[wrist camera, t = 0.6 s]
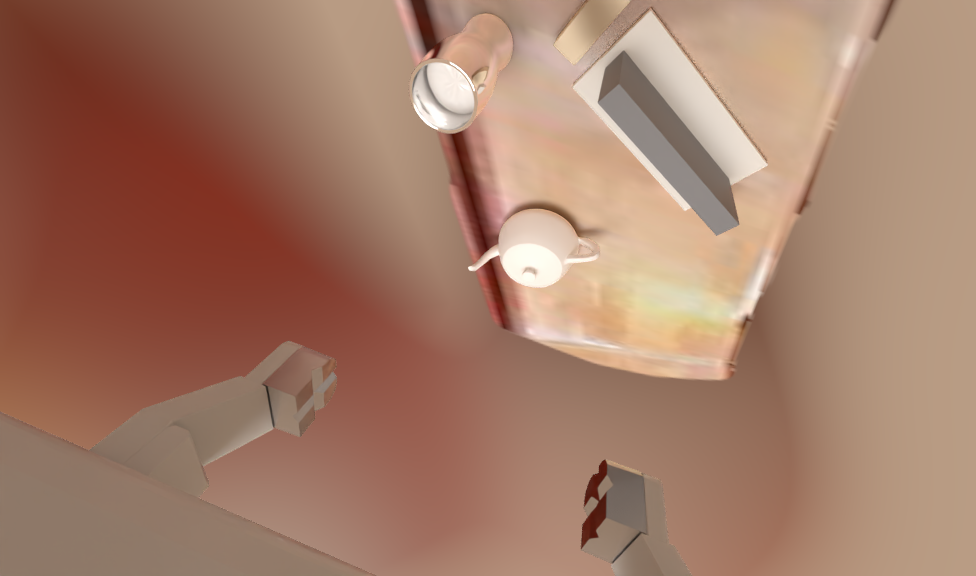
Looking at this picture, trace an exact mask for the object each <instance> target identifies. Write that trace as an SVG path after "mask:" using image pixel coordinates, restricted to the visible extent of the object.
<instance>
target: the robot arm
mask: <svg viewBox="0 0 976 576" xmlns="http://www.w3.org/2000/svg"><path fill="white" fill-rule="evenodd" d="M335 368H336V359H333V358H331V357H329V356H326V355H323V354H321V353H319V352H316V351H313V350H311V349H309V348H306V347H304V346H301V345H299V344H296V343H293V342H291V341H287V342H285V343H283V344H281V345H280V346H279V347H278V348H277V349H276V350H275V351H274V352H272V353H271V354H270V355H269V356H268V357H267V358H266V359H265V360H264V361H262V362H261V363H260V364H259V365H258V366H257V367H256V368H255V369H254V370H252V371H251V372H250V373H249V374H248V375H247V376H246V377H245V378H244V377H241V376H239V377H236V378H233V379H230V380H227V381H224V382H221V383H218V384H215V385H212V386H209V387H206V388H203V389H200V390H197V391H195V392H191V393H188V394H186V395H183V396H180V397H177V398H174V399H171V400H168V401H165V402H162V403H159V404H156V405H153V406H150V407H147V408H144V409H142V410H141V411H139V412H138V413H136V414H135V415H134V416H133V417H131V418H130V419H129V420H127V421H126V422H125V423H124V424H122V425H121V426H120V427H118V428H117V429H116V430H114V431H113V432H112V433H111V434H109V435H108V436H107V437H105V438H104V439H103V440H102V441H100V442H99V443H98V444H96V445H95V446H94V447H92V448H91V449H90V450H87V449H85V448H83V447H80V446H78V445H76V444H74V443H71V442H69V441H67V440H64V439H62V438H60V437H57V436H55V435H53V434H50V433H48V432H46V431H44V430H41V429H39V428H36V427H34V426H32V425H30V424H27V423H25V422H23V421H20V420H18V419H16V418H14V417H11V416H9V415H7V414H4V413H2V412H0V576H376V575H374V574H372V573H369V572H367V571H365V570H363V569H360V568H358V567H356V566H353V565H351V564H349V563H347V562H344V561H342V560H340V559H337V558H335V557H333V556H331V555H328V554H326V553H324V552H321V551H319V550H317V549H314V548H312V547H310V546H308V545H305V544H303V543H301V542H298V541H296V540H294V539H291V538H289V537H287V536H285V535H282V534H280V533H277V532H275V531H273V530H271V529H269V528H266V527H264V526H262V525H259V524H257V523H255V522H252V521H250V520H248V519H245V518H243V517H241V516H239V515H236V514H234V513H232V512H229V511H227V510H225V509H223V508H220V507H218V506H216V505H213V504H211V503H209V502H207V501H204V500H202V499H200V498H199V497H200V495H201V494H202V493H203V492H204V491H205V490H206V489H207V488H208V485H209V480H208V478H207V475H206V473H205V470H204V468H203V466H205V465H207V464H209V463H211V462H212V461H214V460H216V459H218V458H220V457H222V456H224V455H226V454H228V453H229V452H231V451H233V450H235V449H237V448H239V447H241V446H242V445H244V444H246V443H248V442H250V441H252V440H254V439H256V438H258V437H259V436H261V435H263V434H265V433H267V432H269V431H271V430H273V427H274V428H277V429H280V430H282V431H285V432H288V433H290V434H293V435H296V436H299V437H301V436H302V434H303V433H304V432H305V431H306V429H307V428H308V427H309V426H310V424H311V423H312V422H313V421H314V419H315V411H316V410H319V409H320V408H323V407H325V406H326V404H327V403H328V402H329V400H330V399H331V397H332V395H333V393H334V391H335V388H336V384H337V377H336V376H335V374H334V373H333V371H334V369H335ZM584 510H585V512H586V514H587V516H588V517H587V519H586V520H585V522H584V523H583V524H582V538H581V550H582V551H584V552H586V553H589V554H591V555H593V556H595V557H598V558H600V559H602V560H605V561H607V562H609V563H612V565H611V566H612V569H613V571H614V574H615V576H692V575H691V573H690V571H689V570H688V568H687V566H686V564H685V563H684V561H683V559H682V558H681V556H680V554H679V553H678V551H677V549H676V548H675V546H673V545H671V544H669V540H668V531H667V521H666V512H665V503H664V493H663V485H662V482H661V480H660V479H657V478H655V477H652V476H649V475H646V474H643V473H640V472H639V471H637V470H634V469H631V468H628V467H626V466H622V465H620V464H617V463H614V462H611V461H609V460H606V459H605V460H603V461H602V462H601V464H600V465H599V473H597V474H593V476H592V477H591V479H590V481H589V483H588V486H587V489H586V493H585V499H584Z"/></svg>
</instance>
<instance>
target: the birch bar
mask: <svg viewBox="0 0 976 576" xmlns="http://www.w3.org/2000/svg"><path fill="white" fill-rule="evenodd" d="M630 1H631V0H586V1H585V2H584V4H583V5H582V6H581V8H580V9H579V10H578V11H577V13H576V14H575V15H574V17H573V18H572V19H571V20H570V22H569V23H568V24H567V25H566V27H565V28H564V29H563V31H562V32H561V33H560V34H559V36H558V37H557V39H556V41H555V43H554V45H553V46H554V47H555V48H556V49H557V50H558V51H559V52H560V53H561V54H562V55H563V56H565V57H566V58H567V59H568V60H569V61H570V62H571V63H572V64H573V65H575V64H576V63H577V62H578V61H579V60H580V59H581V57H582V56H583V55H584V54H585V53H586V52H587V51H588V49H589V48H590V47H591V46H592V45H593V44H594V42H595V41H596V40H597V39H598V38H599V37H600V36H601V34H602V33H603V32H604V31H605V30H606V29H607V28H608V26H609V25H610V24H611V23H612V22H613V21H614V19H615V18H616V17H617V16H618V15H619V14H620V13H621V11H622V10H623V9H624V8H625V7H626V6H627V5H628V3H629V2H630Z"/></svg>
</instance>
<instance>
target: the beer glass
mask: <svg viewBox="0 0 976 576" xmlns="http://www.w3.org/2000/svg"><path fill="white" fill-rule="evenodd" d="M512 52H513V39H512V35H511V32H510V30H509V28H508V26H507V25H506V24H505V22H504V21H503V20H502V19H500V18H499V17H497V16H495V15H493V14H489V13H482V14H478V15H476V16H474V17H472V18H471V19H470V20H469V21H468V22H467V24H466V25H465V27H464V29H463V31H462V32H460V33H457V34H454V35H451V36H449V37H447V38H445V39H443V40H442V41H440V42H439V43H438V44H437V45H435V46H434V47H433V48H432V49H431V50H430V51H429V52H428V53H427V54H426V56H425V57H424V58H423V59H422V61H421V62H420V63H419V65H418V66H417V67H416V68H415V69H414V71H413V72H412V75H411V77H410V81H409V97H410V101H411V104H412V106H413V108H414V110H415V112H416V113H417V115H418V116H419V118H420V119H421V120H422V121H423V122H424V123H425V124H426V125H428V126H429V127H431V128H432V129H434V130H436V131H439V132H442V133H458V132H460V131H463V130H464V129H466V128H467V127H468V126H469V125H470V124H471V123H472V122H473V120H474V119H475V118H476V117H477V116H478V115H479V114H480V112H481V111H482V110H483V109H484V107H485V106H486V104H487V103H488V101H489V99H490V97H491V95H492V93H493V91H494V88H495V85H496V81H497V76H498V72H500V71H501V70H503V69H504V68H505V67H506V66H507V64H508V63H509V61H510V59H511V56H512Z"/></svg>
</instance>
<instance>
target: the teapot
mask: <svg viewBox="0 0 976 576" xmlns="http://www.w3.org/2000/svg"><path fill="white" fill-rule="evenodd" d="M498 243H499V244H497V245H495V246H493V247H492V248H490V249H489V250H488V251H487V252H486V253H485V254H484V255H483V256H482V257H481V258H480V259H479V260H478V261H477V262H476V263H475V264H473V265H472V266H469V267H468V269H469V270H470V271H476V270H477V269H478V268H480V267H481V266H482V265H483V264H485V263H486V262H487V261H488V260H489V259H491V258H492V257H495V256H498V255H500V260H501V264H502V266H503V268H504V270H505V272H506V273H507V274H508V275H509V277H511V278H512V279H513V280H514V281H516V282H518V283H519V284H522V285H524V286H528V287H534V288H541V287H547V286H550V285H552V284H554V283H555V282H557V281H558V280H560V279H561V278H562V277H563V276H564V275H565V274H566V272H567V271H568V270H569V269H570V267H571V266H572V264H573V263H578V262H588V261H593V260H595V259H597V258H598V257H599V255H600V250H599V246H598V244H597V243H596V242H594V241H592V240H590V239H588V238H586V237H581V238H580V237H578V236H577V234H576V232H575V230H574V228H573V227H572V226H571V224H570V223H569V222H568V221H567V220H566V219H565V218H563V217H562V216H560V215H558V214H557V213H554V212H552V211H549V210H545V209H527V210H523V211H520V212H518V213H516V214H514V215H512V216H511V217H510V218H509V219H508V220H507V221H506V222H505V223H504V225H503V226H502V228H501V230H500V234H499V242H498ZM580 244H581V245H582V246H584V247H586V248H588V249H590V250H591V251H592V252H593V253H591V254H586V255H578V252H579V245H580Z"/></svg>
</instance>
